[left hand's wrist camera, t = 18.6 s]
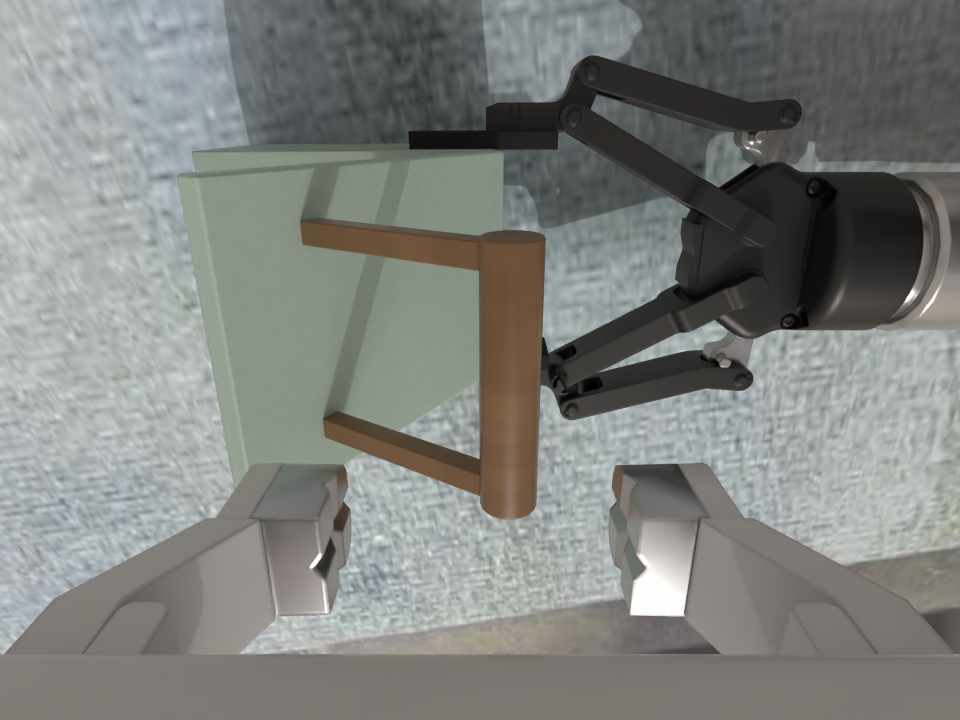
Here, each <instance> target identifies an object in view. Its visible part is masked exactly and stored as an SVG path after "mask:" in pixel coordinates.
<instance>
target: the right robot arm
mask: <svg viewBox="0 0 960 720" xmlns="http://www.w3.org/2000/svg"><path fill="white" fill-rule="evenodd" d="M596 94H597V95H600V96H604V97H607V98H610V99H613V100H617V101H620V102H623V103H627V104H630V105H633V106H637V107H640V108H643V109H646V110H650V111H653V112H656V113H660V114H663V115H666V116H670V117H673V118H676V119H680V120H683V121H686V122H689V123H693V124H696V125H699V126H703V127H706V128H710V129H714V130H719V131H733V132H734V142H735V144H736V145H737V147H739V148H741V149H745V150H749V151H750V152H752V154H753V155H754V157H755V164H753V165H751V166H750V167H748V168H747V169H746V170H744V171H743V172H741V173H740V174H738V175H737V176H735V177H734V178H732V179H731V180H729V181H728V182H726V183H725V184H723V185H722V186H720V187H719V188H718V187H716V186H715V185H713V184H711V183H710V182H708V181H706V180H704V179H702V178H700V177H698V176H696V175H695V174H693V173H692V172H690V171H688V170H687V169H685V168H684V167H682V166H680V165H679V164H677V163H675V162H674V161H672V160H671V159H669V158H667V157H666V156H664V155H663V154H661V153H659V152H658V151H656V150H655V149H653V148H651V147H650V146H648V145H647V144H645V143H643V142H642V141H640V140H638V139H637V138H635V137H634V136H632V135H630V134H629V133H627V132H626V131H624V130H622V129H621V128H619V127H618V126H616V125H614V124H613V123H611V122H609V121H608V120H606V119H605V118H603V117H601V116H600V115H598V114H597V113H595V112H593V111H592V110H590V109H591V107H592V104H593V102H594V99H595V97H596ZM801 114H802V109H801V106H800V104H799V103H798V102H797V101H795V100H791V99H785V100H772V101H760V102H749V103H748V102H745V101H742V100H739V99H735V98H732V97H729V96H726V95H722V94H719V93H716V92H713V91H709V90H706V89H703V88H700V87H696V86H693V85H690V84H687V83H683V82H680V81H677V80H674V79H671V78H667V77H664V76H661V75H658V74H654V73H651V72H648V71H645V70H641V69H638V68H635V67H632V66H628V65H625V64H622V63H619V62H615V61H612V60H609V59H606V58H602V57H599V56H593V55H591V56H588V57H586V58H584V59H583V60H581V61H580V62H578V63H577V64H576V65H575V66H574V67H573V69H572V71H571V76H570V79H569V81H568V84H567V87H566V89H565V92H564V94H563V95H562V97H561V98H560V99H559V100H557V101H555V102H549V103H496V104H494V105H491V106H489V107H487V108H486V130H480V131H409V149H495V150H534V149H558V132H565V133H567V134H568V135H570V136H572V137H573V138H575V139H577V140H578V141H580V142H581V143H583V144H585V145H586V146H588V147H590V148H591V149H593V150H595V151H596V152H598V153H600V154H601V155H603V156H604V157H606V158H608V159H609V160H611V161H613V162H614V163H616V164H618V165H619V166H621V167H623V168H624V169H626V170H627V171H629V172H631V173H632V174H634V175H636V176H637V177H639V178H641V179H642V180H644V181H646V182H647V183H649V184H650V185H652V186H654V187H655V188H657V189H659V190H660V191H662V192H664V193H665V194H667V195H668V196H670V197H671V198H673V199H674V200H676V201H678V202H679V203H681V204H682V205H684V206H686V207H687V208H689V209H691V210H690V211H689V213H688V215H687V217H686V218H682V226H681V239H682V246H683V250H682V253H681V255H680V258H679V260H678V263H677V268H676V276H675V279H676V280H677V281H678V282H679V283H678V284H676V285H674V286H672V287H670V288H668V289H666V290H664V291H663V292H661V293H660V294H659V295H658V296H657V298H656V299H654V300H652V301H650V302H648V303H646V304H644V305H642V306H640V307H638V308H636V309H635V310H633V311H631V312H629V313H627V314H625V315H623V316H621V317H619V318H617V319H615V320H613V321H611V322H609V323H607V324H605V325H603V326H601V327H599V328H597V329H595V330H593V331H591V332H589V333H587V334H585V335H583V336H581V337H579V338H577V339H576V340H574V341H572V342H570V343H568V344H566V345H564V346H562V347H560V348H558V349H556V350H554V351H552V352H550V353H549V354H548V350H547V346H546V342H545V338H544V337H542V358H541V385H544V386H547V387H549V388H550V389H551V390H552V391H553V392H554V394H555V397H556V400H557V403H558V405H559V408H560V412H561V414H562V416H563V417H564V418H565V419H568V420H576V419H580V418H585V417H589V416H593V415H597V414H601V413H605V412H610V411H614V410H618V409H622V408H626V407H631V406H635V405H639V404H643V403H647V402H651V401H656V400H660V399H664V398H668V397H672V396H676V395H681V394H685V393H689V392H693V391H697V390H702V389H706V388H708V389H721V390H734V391H742V390H745V389H747V388H749V387H750V386H751V384H752V382H753V375H752V373H751V372H750V371H749V370H748V369H747V368H746V367H747V363H748V359H749V355H750V351H751V347H752V344H753V340H754V339H755V338H758V337H761V336H762V335H764V334H767V333H769V332H772V331H775V330H783V329H784V330H869V329H872V328H876V329H880V330H886V331H905V330H960V172H902V173H897V174H894V175H892V174H890V173H885V172H800V171H798V170H796V169H794V168H793V167H791V166H790V165H788V164H786V163H785V160H786V150H787V140H788V130H789V128H792V127H793V126H795V125H796V124H797V123H798V121H799V120H800V118H801ZM713 320H715V321H717V322H718V323H719V324H721V325H722V326H723V327H725V328H726V329H727V330H728V333H727V335H726V336H725V337H724V338H723V339H722V340H719V341H715V342H709V343H707V344H705V346H704V349H703V350H694V351H685V352H680V353H676V354H672V355H668V356H664V357H660V358H656V359H652V360H648V361H643V362H639V363H635V364H631V365H627V366H623V367H619V368H615V369H611V370H607V371H603V372H599V371H602V370H604V369H606V368H608V367H610V366H612V365H614V364H616V363H618V362H620V361H622V360H624V359H626V358H628V357H630V356H632V355H634V354H636V353H638V352H640V351H642V350H644V349H646V348H648V347H650V346H652V345H654V344H656V343H658V342H660V341H662V340H664V339H666V338H668V337H671V336H673V335H675V334H677V333H686V332H690V331H693V330H695V329H697V328H699V327H701V326H703V325H705V324H707V323H709V322H711V321H713ZM597 372H599V373H597Z"/></svg>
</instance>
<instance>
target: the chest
mask: <svg viewBox="0 0 960 720" xmlns="http://www.w3.org/2000/svg"><path fill="white" fill-rule="evenodd" d="M485 150H495V149H409V143H334V144H259V145H249V146H240V147H230V148H220V149H210V150H200V151H193V152H192V155H193V161H194V166H195V171H196V172H205V171H219V170H232V169H245V168H258V167H272V166H285V165H298V164H312V163H325V162H338V161H352V160H365V159H378V158H391V157H405V156H418V155H431V154H445V153H458V152H471V151H485Z"/></svg>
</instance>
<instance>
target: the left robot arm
mask: <svg viewBox="0 0 960 720" xmlns="http://www.w3.org/2000/svg"><path fill="white" fill-rule="evenodd" d="M347 489H348V481H347V473H346V469H345V467H344V465H340V464H288V463H287V464H284V463H257V464H254V465H252V466H251V467H250V468H249V470H248V471H247V473H246V474H245V476H244V477H243V478H242V480H241V481H240V483H239V484H238V486H237V487H236V489H235V490H234V492H233V493H232V495H231V496H230V498H229V499H228V500H227V502H226V503H225V505H224V506H223V508H222V509H221V511H220V512H219V514H218V515H217V517H216V518H207V519H204V520H202V521H200V522H198V523H197V524H195V525H193V526H191V527H189V528H187V529H185V530H183V531H181V532H180V533H178V534H176V535H174V536H172V537H170V538H168V539H166V540H164V541H163V542H161V543H159V544H157V545H155V546H153V547H151V548H149V549H147V550H146V551H144V552H142V553H140V554H138V555H136V556H134V557H132V558H130V559H129V560H127V561H125V562H123V563H121V564H119V565H117V566H115V567H113V568H111V569H110V570H108V571H106V572H104V573H102V574H100V575H98V576H96V577H94V578H93V579H91V580H89V581H87V582H85V583H83V584H81V585H79V586H77V587H76V588H74V589H72V590H70V591H68V592H66V593H64V594H62V595H60V596H59V597H57V598H55V599H54V600H53V601H52V602H51V603H50V604H49V605H48V606H47V607H46V609H45V610H44V611H43V612H42V613H41V614H40V615H39V616H38V617H37V619H36V620H35V621H34V622H33V623H32V624H31V625H30V626H29V627H28V628H27V630H26V631H25V632H24V633H23V634H22V635H21V636H20V637H19V638H18V640H17V641H16V642H15V643H14V644H13V645H12V646H11V647H10V648H9V649H8V651H7V652H6V653H5V654H0V720H960V654H955V653H954V652H953V651H952V649H951V648H950V647H949V646H948V645H947V644H946V643H945V642H944V640H943V639H942V638H941V637H940V636H939V635H938V634H937V633H936V632H935V630H934V629H933V628H932V627H931V626H930V625H929V624H928V623H927V622H926V621H925V619H924V618H923V617H922V616H921V615H920V614H919V613H918V612H917V610H916V609H915V608H914V607H913V606H912V605H911V604H910V603H909V602H908V600H907V599H905V598H903V597H901V596H899V595H897V594H895V593H893V592H892V591H890V590H888V589H886V588H884V587H882V586H880V585H878V584H876V583H875V582H873V581H871V580H869V579H867V578H865V577H863V576H861V575H859V574H858V573H856V572H854V571H852V570H850V569H848V568H846V567H844V566H843V565H841V564H839V563H837V562H835V561H833V560H831V559H829V558H827V557H826V556H824V555H822V554H820V553H818V552H816V551H814V550H812V549H811V548H809V547H807V546H805V545H803V544H801V543H799V542H797V541H795V540H794V539H792V538H790V537H788V536H786V535H784V534H782V533H780V532H778V531H777V530H775V529H773V528H771V527H769V526H767V525H765V524H763V523H762V522H760V521H758V520H756V519H754V518H744V517H743V515H742V514H741V512H740V511H739V509H738V508H737V507H736V505H735V504H734V502H733V501H732V499H731V498H730V496H729V495H728V493H727V492H726V491H725V489H724V488H723V486H722V485H721V483H720V482H719V480H718V479H717V477H716V476H715V475H714V473H713V472H712V470H711V469H710V467H709V466H708V465H707V464H704V463H685V464H648V465H617V466H615V469H614V473H613V480H612V489H613V492H614V495H615V498H616V500H617V502H616V503H615V504H614V505H613V506H612V507H611V508H610V512H609V544H610V549H611V554H612V558H613V561H614V565H615V566H617V567H618V568H619V569H621V570H622V573H621V583H620V585H621V588H622V591H623V594H624V597H625V600H626V603H627V607H628V610H629V613H630V615H653V616H685V617H684V619H685V620H686V621H687V622H688V623H689V624H690V625H691V626H692V627H693V628H695V629H696V630H697V631H698V632H699V633H700V634H701V635H702V636H703V637H704V638H705V639H706V640H707V641H708V642H709V643H711V644H712V645H713V646H714V647H715V648H716V649H717V650H718V651H719V652H720V653H721V654H239V653H240V652H241V651H242V650H243V649H244V648H245V647H247V646H248V645H249V644H250V643H251V642H252V641H253V640H254V639H255V638H256V637H257V636H258V635H259V634H260V633H261V632H263V631H264V630H265V629H266V628H267V627H268V626H269V625H270V624H271V623H272V622H273V621H274V620H275V616H306V615H330V613H331V610H332V607H333V604H334V600H335V597H336V594H337V591H338V588H339V584H340V583H339V573H338V570H339V569H341V568H342V567H343V566H345V565H346V561H347V558H348V554H349V549H350V541H351V512H350V508H349V507H348V506H347V505H346V504H345V503H344V502H343V500H344V498H345V495H346V492H347Z"/></svg>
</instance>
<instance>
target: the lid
mask: <svg viewBox="0 0 960 720" xmlns="http://www.w3.org/2000/svg"><path fill="white" fill-rule="evenodd" d="M177 180H178V185H179V191H180V196H181V202H182V207H183V212H184V218H185V223H186V229H187V234H188V239H189V245H190V250H191V256H192V261H193V266H194V272H195V277H196V283H197V288H198V293H199V299H200V304H201V310H202V315H203V320H204V326H205V331H206V337H207V342H208V347H209V353H210V358H211V364H212V369H213V374H214V380H215V385H216V391H217V396H218V401H219V407H220V412H221V418H222V423H223V428H224V434H225V439H226V444H227V450H228V455H229V461H230V466H231V471H232V477H233V482H234V488H235V489H236V487H237V486H238V484H239V483H240V481H241V480H242V478H243V477H244V476H245V474H246V473H247V471H248V470H249V468H250V467H251V466H252V465H254V464H257V463H284V464H287V463H288V464H340V465H345V464H346V463H348V462H350V461H351V460H353V459H354V458H356V457H358V456H359V455H361V454H362V453H367V454H370V455H372V456H375V457H378V458H380V459H383V460H386V461H388V462H391V463H394V464H396V465H399V466H402V467H404V468H407V469H410V470H412V471H415V472H418V473H420V474H423V475H425V476H428V477H431V478H433V479H436V480H439V481H441V482H444V483H447V484H449V485H452V486H455V487H457V488H460V489H463V490H465V491H468V492H471V493H473V494H476V495H478V496H480V504H481V507H482V508H483V510H484V511H485V512H486V513H487V514H489V515H491V516H493V517H496V518H500V519H507V520H511V519H519V518H522V517H525V516H527V515H529V514H530V513H531V512H532V511H533V510H534V508H535V506H536V498H537V470H538V442H539V414H540V386H541V358H542V330H543V302H544V274H545V246H546V238H545V236H544V235H542V234H540V233H536V232H531V231H520V230H503V184H504V152H503V151H500V150H485V151H471V152H458V153H445V154H431V155H418V156H405V157H391V158H378V159H365V160H352V161H338V162H325V163H312V164H298V165H285V166H272V167H258V168H245V169H232V170H219V171H205V172H192V173H180V174H179V175H177ZM477 382H479V414H480V459H477V458H475V457H472V456H469V455H466V454H463V453H460V452H457V451H454V450H451V449H448V448H445V447H442V446H439V445H436V444H433V443H430V442H427V441H424V440H422V439H419V438H416V437H413V436H410V435H407V434H404V433H401V432H398V431H400V430H401V429H403V428H404V427H406V426H408V425H409V424H411V423H412V422H414V421H416V420H417V419H419V418H421V417H422V416H424V415H425V414H427V413H429V412H430V411H432V410H433V409H435V408H437V407H438V406H440V405H442V404H443V403H445V402H446V401H448V400H450V399H451V398H453V397H454V396H456V395H458V394H459V393H461V392H462V391H464V390H466V389H467V388H469V387H471V386H472V385H474V384H475V383H477Z"/></svg>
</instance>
